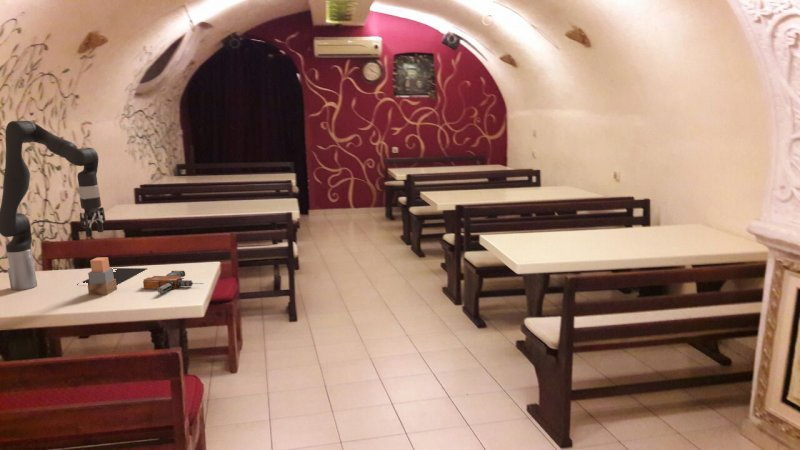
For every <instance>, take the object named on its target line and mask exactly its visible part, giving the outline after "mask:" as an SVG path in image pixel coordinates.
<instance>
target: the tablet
mask: <svg viewBox="0 0 800 450" xmlns="http://www.w3.org/2000/svg"><path fill="white" fill-rule="evenodd" d="M112 268H113V269H117V270H115V271H116V272H113V276H114V279H116V284H117V286H118V284H119V285H121V284H122V282H123V283H124V282H126V281H128V280H131V279H132V278H134V277H136V276H138V275H139V273H140V274H141V272H142V273H144V272H145V270H146V271H147V270H148V268H146V267H143V268H141V267H131V268H129V267H126V268H125V267H124V268H123V267H112ZM143 271H144V272H143ZM137 274H138V275H137ZM82 282H83V283H85V282H86V283H88V284H90V283H89V278H87V279H85V280H83V281H82ZM78 284H79V283H77V285H78Z"/></svg>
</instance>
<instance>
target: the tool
mask: <svg viewBox="0 0 800 450" xmlns="http://www.w3.org/2000/svg"><path fill="white" fill-rule="evenodd" d="M185 276H186V272H185V270H171V272H169V273H167V274H166V275H153V276H149V277H148V276H147V277H146V278H144V279H143V289H153V290H154V289H157V290H156V291H157V293H158V294H163V293H165V292H167V291H169V290H171V289H178V288H179V287H192V286H193V285H194V284H197V285H198V284H200V285H201V284H202V285H204V284H205V282H204V283H201V282H200V283H199V282H195V283H194V282H193V281H192V280H190V279H189V280H188V279H185ZM183 279H184V280H183Z"/></svg>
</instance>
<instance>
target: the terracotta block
mask: <svg viewBox="0 0 800 450" xmlns="http://www.w3.org/2000/svg"><path fill="white" fill-rule="evenodd" d="M89 262H90V268H91V271H92V272H104V271H106V270H108V269H110V268H111V267H110V262H109V257H106V256H105V257H101V256H100V257H95V258H93V259H90V260H89Z"/></svg>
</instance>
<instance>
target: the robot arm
mask: <svg viewBox="0 0 800 450" xmlns="http://www.w3.org/2000/svg"><path fill="white" fill-rule="evenodd" d="M4 136H5V162H4V163H5V166H4V173H3V174H4V175H3V183H2V184H3V187H2V195H1V197H2V198H1V205H0V235H1V236H2V237H4V238H10V237H12V239H11V241H10V242H9V243H8V244H6V246H5V249H6V255H7V260H8V266H9V267H8V268H7V273H8V280H9V284H10V285H9V286H10V290H15V291H23V290H29V289H32V288H33V289H34V288H35V287H37V286H38V281H37V275H36V274H37V273H36V270H35V263H34V257H33V252H32V241H33V238H32V227H31V222H30V220H29V217H28V216H27V215H25V214H24V213H21V212H18V209H19V205H20V204H21V202H22V201H23V199H24V198H25V196H26V194H27V192H28V190H29V187H30V178H31V173H30V169H29V167H28V165H27V164H26V162H25V160H24V158H23V144H27V143H37V144H41V145H43V146H45V147H46V149H47V150H48V151H49V152H50V153H52V154H54V155H57V156H58V157H62V158H64V159H65V160H66V161H68V162H69V163H70V164H72V165H75V166H77V167H83V169H82V170H81V171H80V172H78V173H77V181H78V182H77V183H78V194H79V195H78V196H79V201H80V207H81V209H83V210H84V212H80V213H79V220H80V228H84V229H85V235H86V238H87V237H88V238H91V237H93V229H92V224H93V223H94V222H95V223H96V230H97V232H98V233H103V232H104V225H103V224H104V222H105V221H106V215H105V208H104V207H102V202H101V195H100V194H101V193H100V188H99V185H98V183H99V182H98V177H97V173H98V168H99V155H98V152H97V151H96V150H95V148H93V147H82V148H78V146H77V145H76V144H75V143H73V142H71V141H69V140H67V139H65V138H62V137H59V136H58V135H55V134H54V133H51V132H49V131H48V130H47V129H44V128H43V127H42V126H40V125H38V124H37V123H35V122H33V121H32V120H31V121H30V120H12V121H9V122H8V123H7V125H6V127H5V135H4Z"/></svg>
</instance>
